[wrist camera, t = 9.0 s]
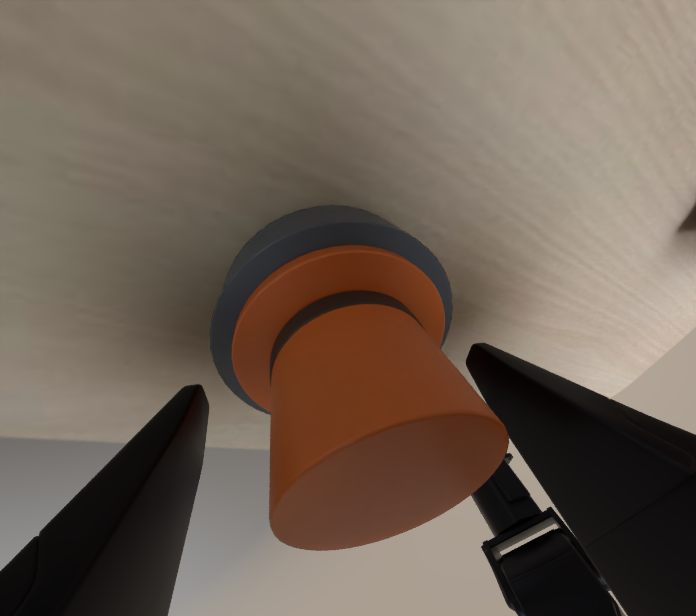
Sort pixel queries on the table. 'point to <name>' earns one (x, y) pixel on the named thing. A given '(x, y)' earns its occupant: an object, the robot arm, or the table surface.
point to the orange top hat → (360, 399)
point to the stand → (297, 240)
